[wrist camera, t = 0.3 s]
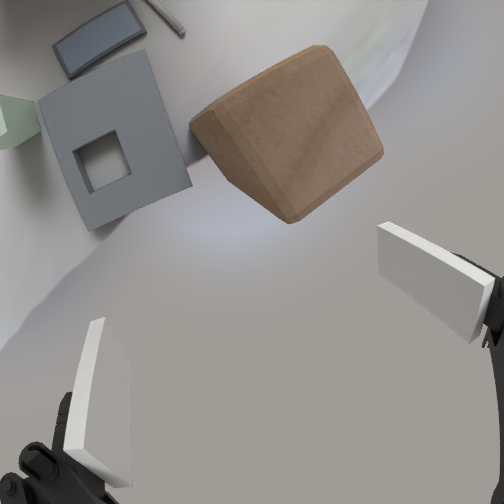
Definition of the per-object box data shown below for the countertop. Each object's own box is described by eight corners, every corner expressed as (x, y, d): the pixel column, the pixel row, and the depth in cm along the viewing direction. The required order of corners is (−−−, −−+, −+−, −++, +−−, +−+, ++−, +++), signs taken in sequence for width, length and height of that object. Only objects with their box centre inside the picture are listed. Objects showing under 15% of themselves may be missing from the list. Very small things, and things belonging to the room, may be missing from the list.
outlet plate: (45, 102, 27) (38, 100, 25) (145, 54, 29) (144, 48, 26) (93, 226, 35) (88, 232, 33) (191, 183, 36) (192, 186, 34)
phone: (53, 47, 24) (51, 46, 23) (128, 1, 25) (127, -1, 24) (70, 80, 27) (68, 78, 26) (146, 32, 27) (146, 30, 27)
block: (184, 123, 34) (204, 107, 16) (250, 80, 33) (330, 37, 16) (230, 185, 38) (292, 234, 20) (291, 142, 38) (392, 156, 20)
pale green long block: (7, 118, 26) (-35, 118, 16) (32, 101, 26) (-6, 93, 17) (15, 147, 28) (-26, 154, 18) (41, 130, 28) (3, 131, 19)
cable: (125, -20, 23) (125, -23, 22) (131, -24, 23) (130, -27, 22) (181, 36, 29) (181, 34, 28) (186, 32, 29) (187, 30, 28)
